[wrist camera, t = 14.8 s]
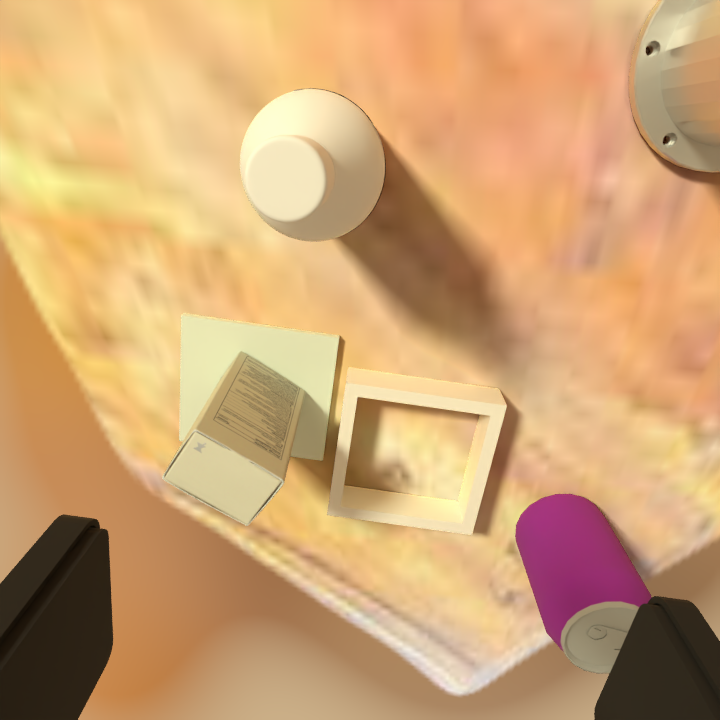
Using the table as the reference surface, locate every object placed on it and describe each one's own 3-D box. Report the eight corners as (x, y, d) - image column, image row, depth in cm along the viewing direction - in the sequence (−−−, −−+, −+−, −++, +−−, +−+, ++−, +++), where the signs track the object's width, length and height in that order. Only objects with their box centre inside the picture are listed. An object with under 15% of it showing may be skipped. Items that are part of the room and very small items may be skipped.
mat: (339, 335, 42) (339, 338, 41) (323, 457, 46) (322, 460, 46) (183, 312, 42) (181, 315, 41) (181, 437, 46) (179, 440, 45)
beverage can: (496, 540, 49) (530, 659, 38) (541, 474, 46) (592, 581, 35) (570, 570, 50) (625, 694, 39) (619, 507, 47) (693, 622, 36)
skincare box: (213, 388, 43) (153, 477, 32) (241, 347, 42) (189, 425, 31) (281, 431, 45) (247, 531, 33) (310, 393, 43) (285, 483, 32)
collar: (498, 388, 43) (507, 405, 40) (466, 511, 48) (471, 535, 45) (348, 366, 43) (345, 382, 40) (330, 492, 47) (327, 515, 45)
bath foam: (316, 230, 39) (257, 313, 21) (263, 139, 37) (143, 139, 18) (402, 180, 38) (422, 220, 19) (352, 82, 35) (319, 20, 17)
